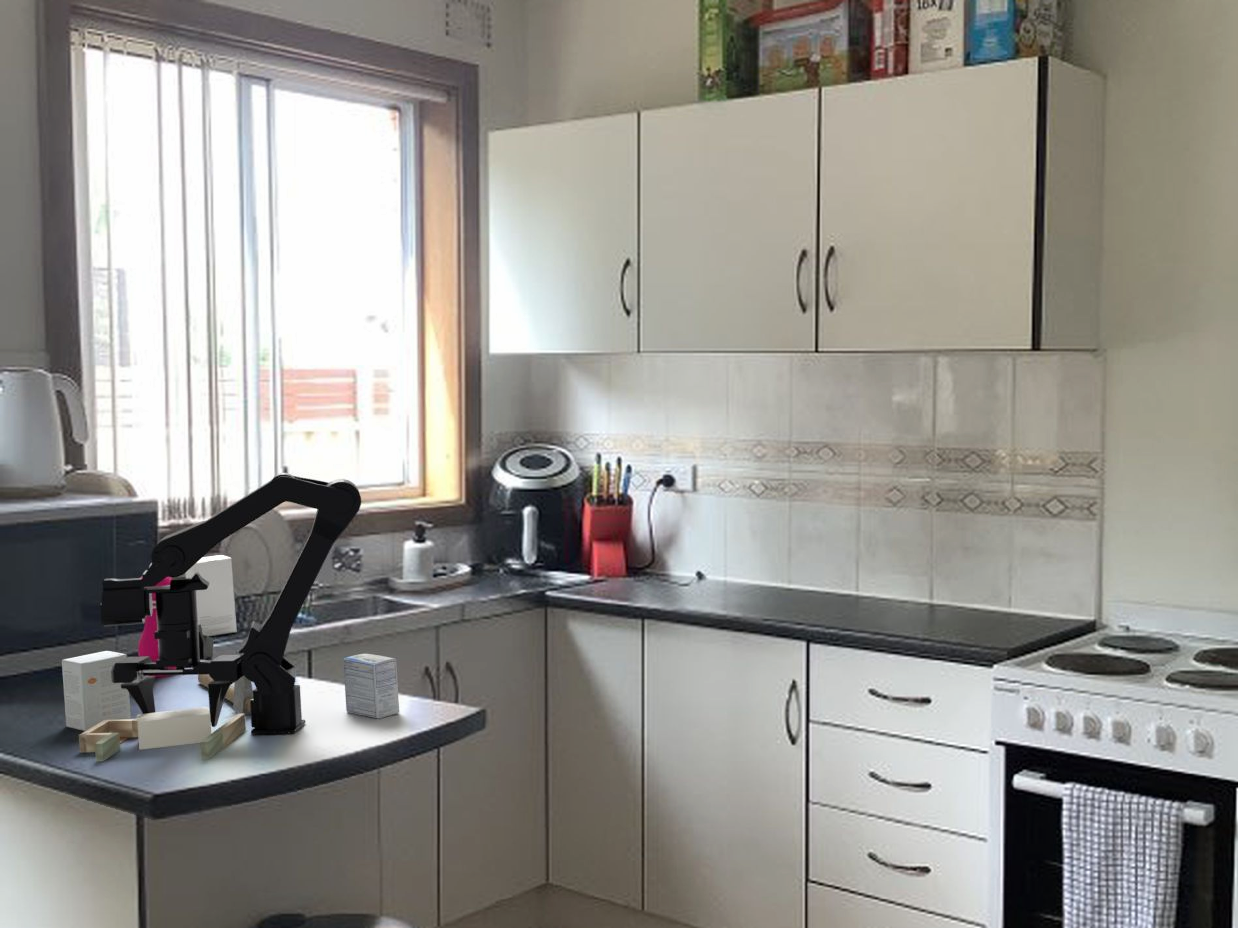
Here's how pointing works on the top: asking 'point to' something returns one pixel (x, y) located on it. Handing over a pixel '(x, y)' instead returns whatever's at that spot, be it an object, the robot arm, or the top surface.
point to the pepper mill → (152, 632)
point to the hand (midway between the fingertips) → (183, 726)
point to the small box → (93, 690)
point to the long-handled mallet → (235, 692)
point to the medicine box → (371, 685)
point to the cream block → (173, 727)
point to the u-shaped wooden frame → (115, 731)
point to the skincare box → (215, 595)
